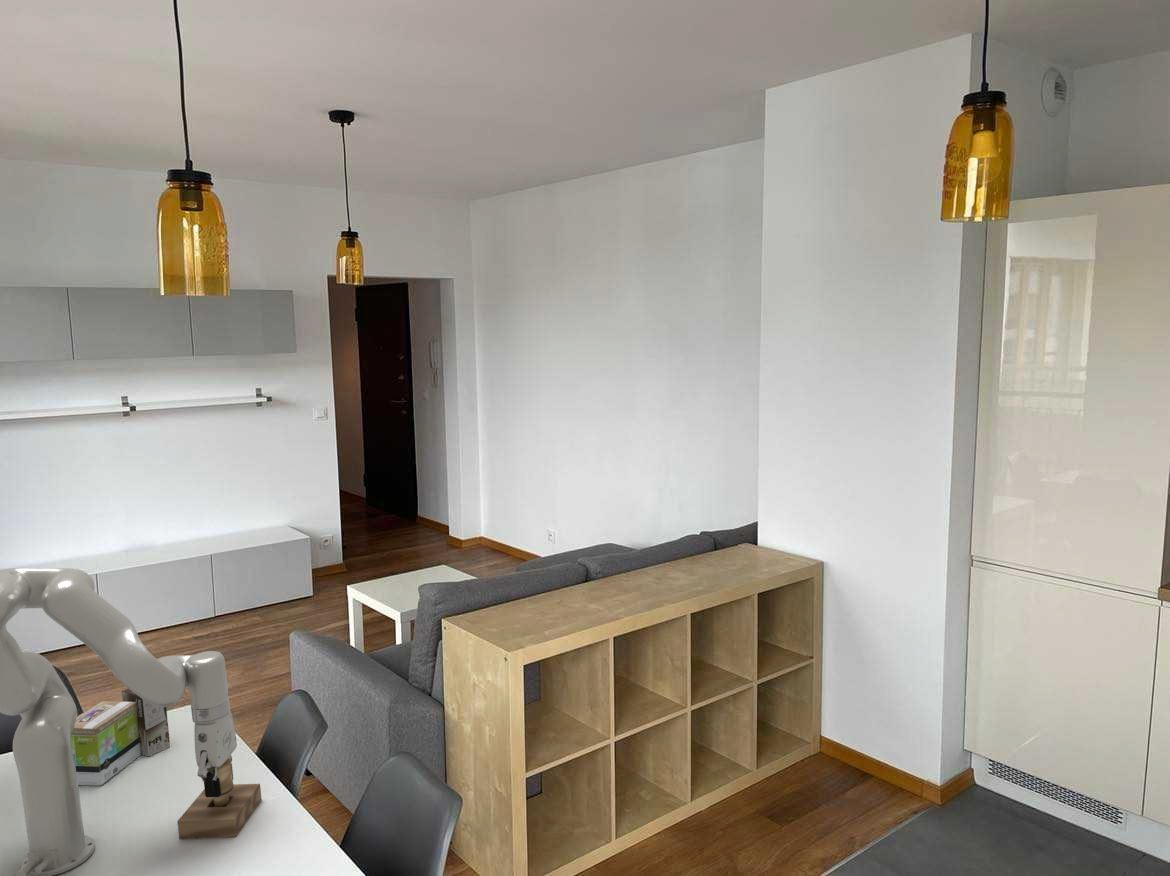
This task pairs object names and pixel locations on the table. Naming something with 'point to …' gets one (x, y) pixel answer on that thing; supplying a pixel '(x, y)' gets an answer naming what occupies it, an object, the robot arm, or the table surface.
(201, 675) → the robot arm
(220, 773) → the peg
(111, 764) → the tea box
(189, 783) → the table surface
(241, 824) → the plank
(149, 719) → the coffee box
